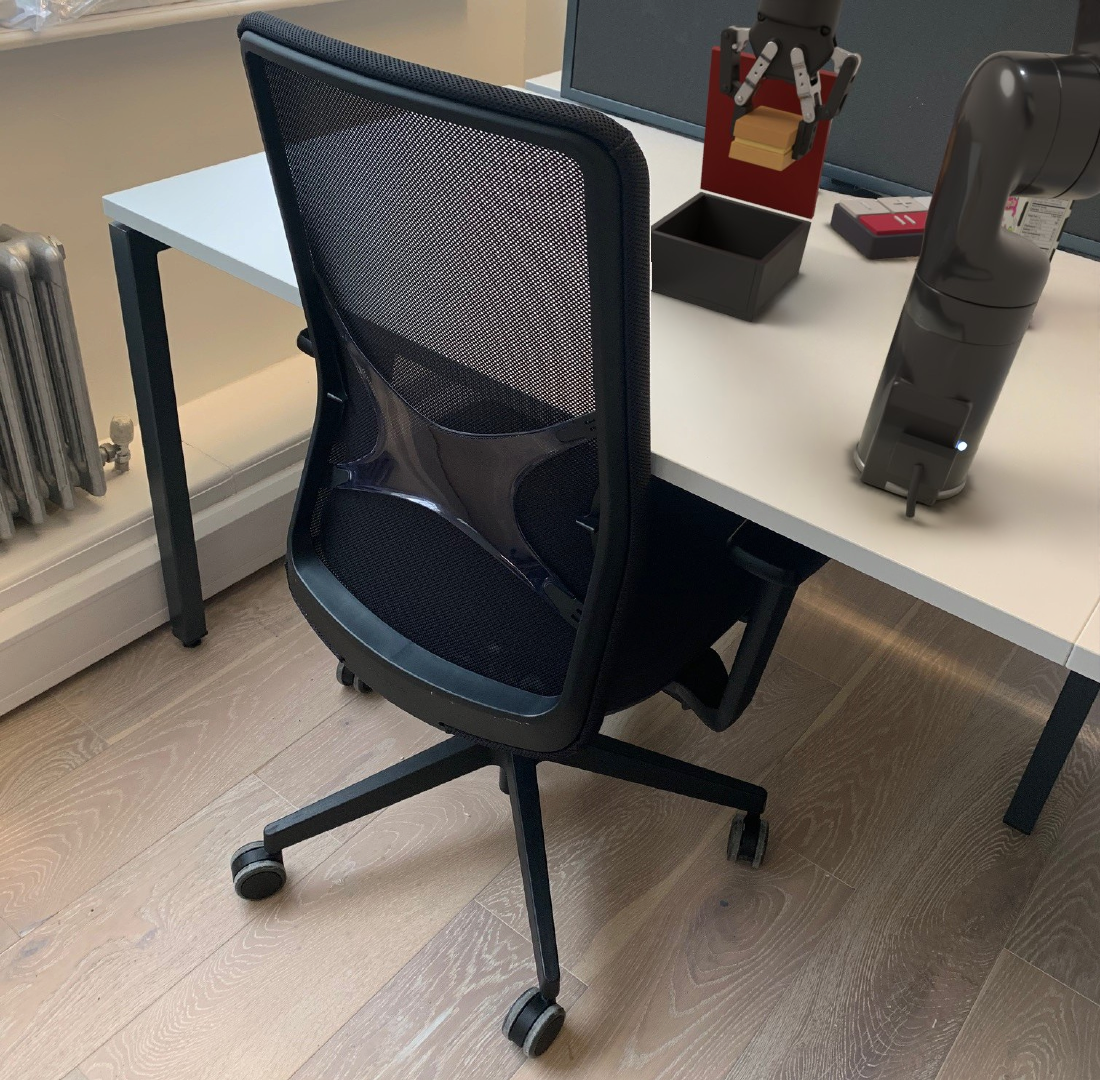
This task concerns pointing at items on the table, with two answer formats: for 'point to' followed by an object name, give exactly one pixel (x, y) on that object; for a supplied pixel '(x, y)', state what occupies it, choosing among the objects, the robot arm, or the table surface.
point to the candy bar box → (1038, 220)
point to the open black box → (726, 254)
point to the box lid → (754, 182)
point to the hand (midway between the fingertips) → (768, 149)
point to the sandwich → (765, 137)
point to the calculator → (882, 225)
